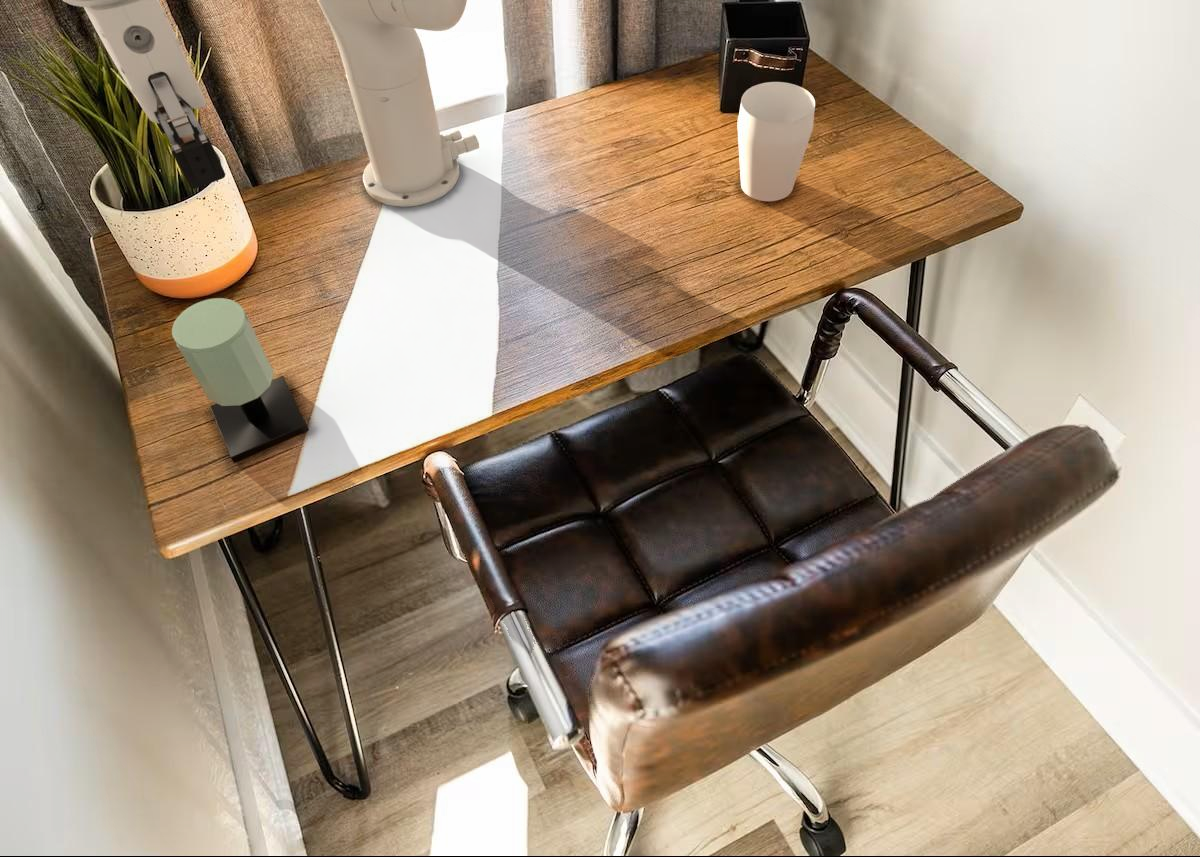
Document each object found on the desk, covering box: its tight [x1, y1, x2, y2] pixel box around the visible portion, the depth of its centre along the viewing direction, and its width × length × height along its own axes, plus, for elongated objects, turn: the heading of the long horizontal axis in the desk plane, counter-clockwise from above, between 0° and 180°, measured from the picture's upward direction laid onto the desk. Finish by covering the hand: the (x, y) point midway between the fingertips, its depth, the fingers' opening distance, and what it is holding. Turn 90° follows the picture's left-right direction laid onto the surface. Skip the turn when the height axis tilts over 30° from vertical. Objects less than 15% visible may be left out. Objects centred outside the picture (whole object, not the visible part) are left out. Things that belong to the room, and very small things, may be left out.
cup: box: [736, 81, 816, 202], centre depth 110 cm, size 9×9×12 cm
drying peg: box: [209, 375, 310, 464], centre depth 88 cm, size 8×8×14 cm
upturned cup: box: [171, 297, 275, 406], centre depth 85 cm, size 7×7×8 cm
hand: (192, 153), depth 81 cm, fingers open, 9 cm apart
